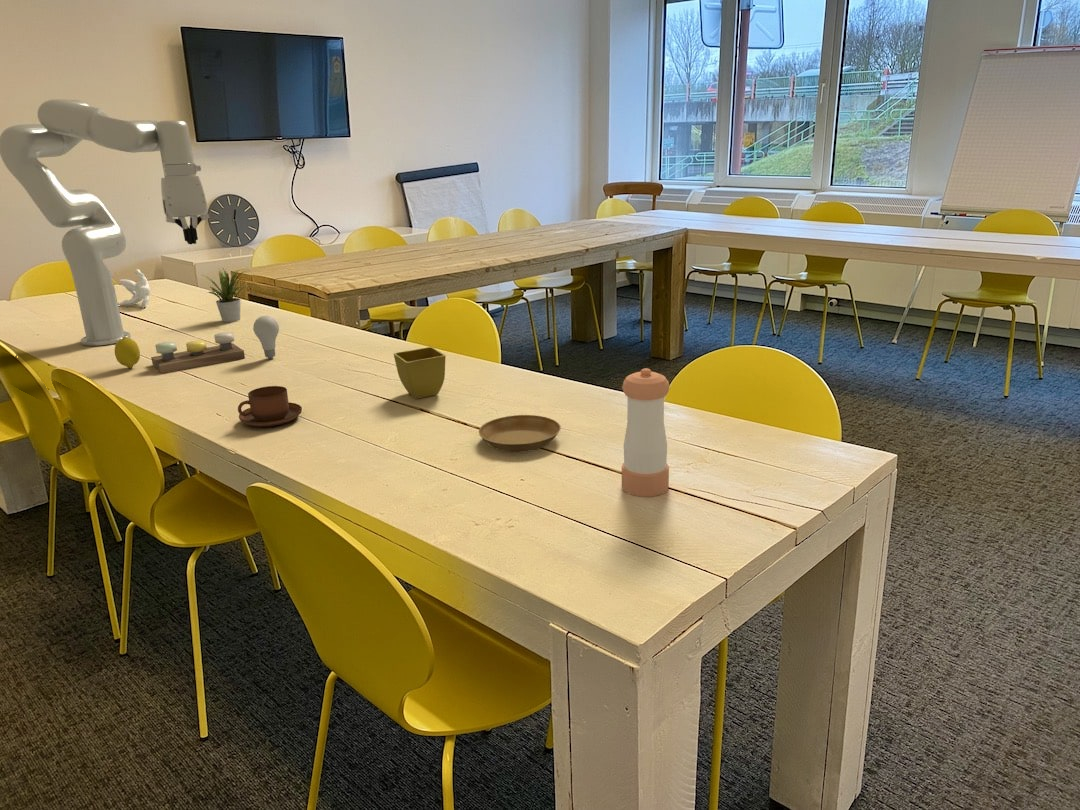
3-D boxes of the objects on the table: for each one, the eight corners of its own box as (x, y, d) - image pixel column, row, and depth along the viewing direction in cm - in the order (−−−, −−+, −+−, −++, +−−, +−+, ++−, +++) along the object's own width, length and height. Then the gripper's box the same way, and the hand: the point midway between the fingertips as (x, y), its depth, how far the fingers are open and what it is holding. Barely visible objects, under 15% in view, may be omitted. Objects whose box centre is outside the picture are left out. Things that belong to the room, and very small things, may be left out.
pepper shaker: (616, 493, 126) (615, 374, 120) (628, 475, 133) (628, 360, 127) (662, 499, 124) (664, 377, 118) (673, 480, 130) (675, 363, 124)
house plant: (269, 317, 254) (261, 264, 248) (232, 327, 243) (223, 272, 237) (239, 313, 261) (230, 262, 256) (201, 322, 250) (192, 269, 245)
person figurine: (98, 275, 276) (140, 266, 270) (129, 277, 288) (169, 268, 282) (105, 314, 277) (147, 306, 271) (135, 314, 289) (175, 306, 283)
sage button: (156, 361, 204) (153, 343, 203) (176, 357, 207) (173, 340, 205) (160, 365, 201) (157, 347, 199) (180, 361, 203) (177, 344, 202)
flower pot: (409, 403, 171) (406, 362, 168) (396, 392, 178) (392, 352, 175) (449, 396, 174) (446, 355, 172) (434, 385, 182) (431, 346, 179)
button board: (152, 364, 207) (151, 357, 206) (233, 350, 217) (232, 343, 217) (161, 373, 199) (159, 365, 198) (244, 358, 209) (243, 350, 209)
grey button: (214, 350, 212) (212, 334, 210) (233, 347, 214) (230, 331, 213) (219, 354, 208) (216, 337, 207) (238, 351, 211) (235, 334, 209)
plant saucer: (496, 463, 140) (495, 449, 139) (468, 436, 153) (467, 423, 152) (574, 448, 145) (574, 434, 144) (541, 422, 158) (540, 409, 157)
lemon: (133, 371, 201) (126, 339, 199) (113, 371, 202) (106, 339, 200) (147, 365, 206) (141, 334, 204) (128, 364, 207) (121, 333, 205)
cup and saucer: (268, 435, 156) (263, 405, 154) (227, 425, 162) (222, 396, 160) (315, 416, 166) (311, 387, 164) (275, 407, 172) (270, 379, 170)
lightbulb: (288, 356, 210) (282, 314, 206) (271, 362, 204) (265, 319, 201) (269, 354, 212) (263, 312, 209) (252, 360, 207) (246, 317, 203)
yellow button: (187, 359, 208) (184, 342, 207) (205, 356, 211) (202, 339, 209) (191, 363, 205) (188, 346, 203) (210, 359, 207) (207, 343, 206)
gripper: (205, 169, 218) (217, 239, 224) (145, 172, 210) (158, 245, 216) (213, 169, 212) (224, 241, 218) (151, 173, 204) (165, 248, 210)
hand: (191, 243), depth 217 cm, fingers closed
